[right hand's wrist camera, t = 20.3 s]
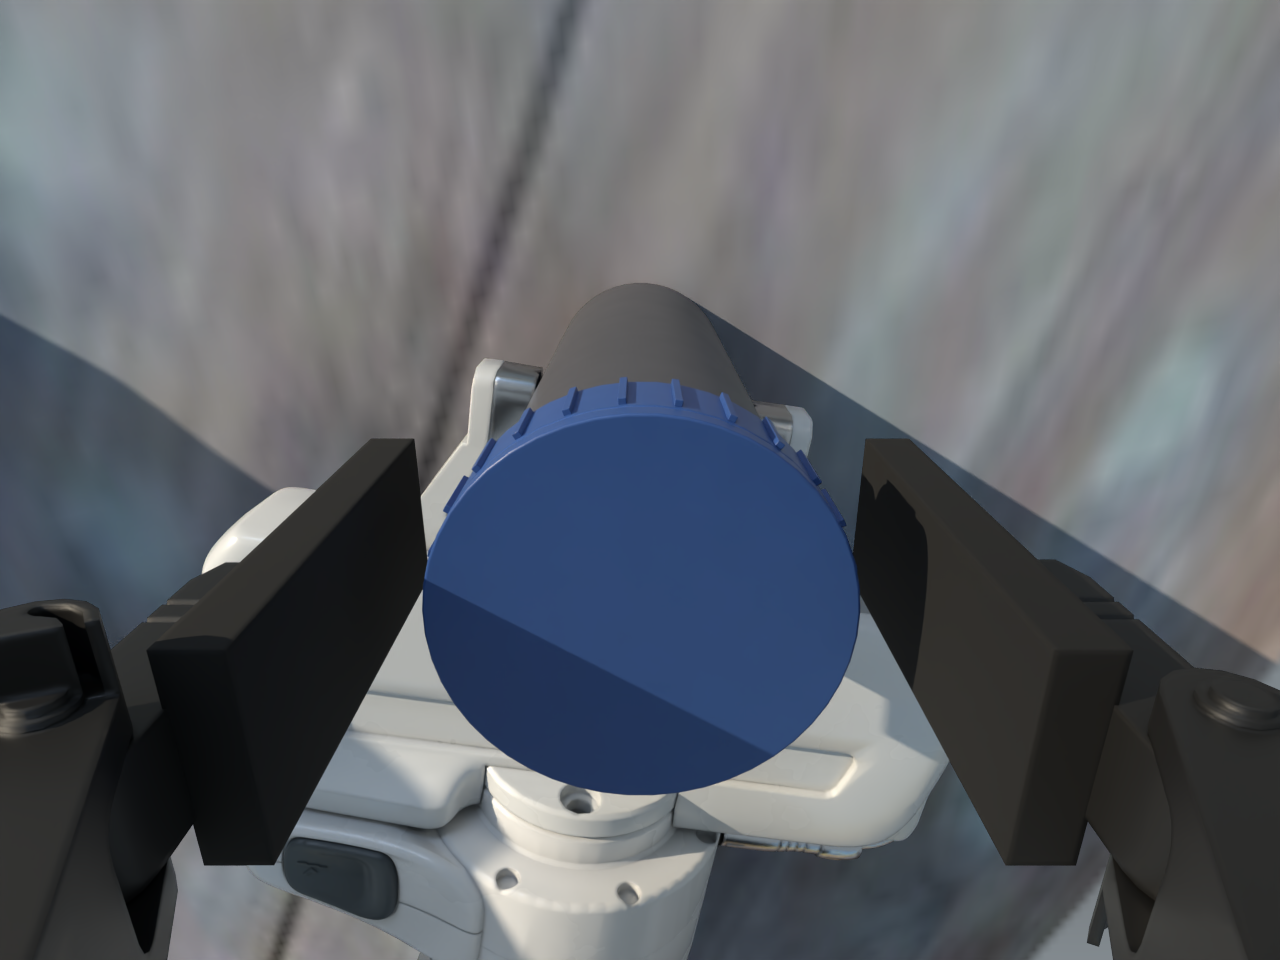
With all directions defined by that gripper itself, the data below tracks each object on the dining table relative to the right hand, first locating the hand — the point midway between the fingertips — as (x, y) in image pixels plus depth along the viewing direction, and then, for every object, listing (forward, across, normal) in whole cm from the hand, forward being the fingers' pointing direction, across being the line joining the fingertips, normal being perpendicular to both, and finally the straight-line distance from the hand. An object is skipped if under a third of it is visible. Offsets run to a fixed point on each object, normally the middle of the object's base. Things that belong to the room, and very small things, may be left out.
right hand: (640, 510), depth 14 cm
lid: (-3, 0, 0) cm, 3 cm away
